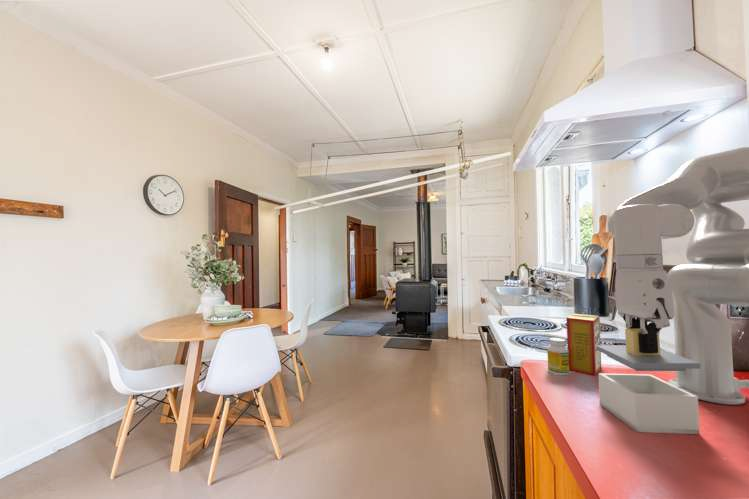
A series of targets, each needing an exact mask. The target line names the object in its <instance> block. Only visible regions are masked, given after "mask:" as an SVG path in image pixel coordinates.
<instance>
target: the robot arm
mask: <svg viewBox="0 0 749 499" xmlns="http://www.w3.org/2000/svg"><path fill="white" fill-rule="evenodd" d="M748 200H749V147H748V146H746V147H745V146H744V147H738V148H734V149H730V150H726V151H720V152H716V153H713V154H707V155H703V156H699V157H695V158H693V159H691V160H690V159H689V161H686V162H685V163H684V164H682V165H681V166H680V167H679V168H678V169H677V170H676V171H675V172H674V173H673V175H671V176H670V177H669V178H668V179H667V180H666V181H665V182H663V183H662V184H659V185H656V186H654V187H652V188H650V189H647V190H646V191H644V192H641V193H639V194H637V195H634V196H633V197H630V198H629V199H626V200H625V201H624V202H623V203H622V204H620V205H619V206H618V207H617V209H615V210H614V211H613V213H612V214H611V216H610V217H609V220H608V231H609V233H610V235H611V236H612V237H613V238H614V250H615V270H616V271H615V272H616V273H615V279H614V280H615V281H614V301H615V308H616V311H617V315H619V316H620V317H621V318H622V319H623V321H624V322H625V329H632V328H641V333H638V334H639V351H640V352H641V353H658V339H657V334H659V335H660V334H661V330H662V329H663V328H667V327H668V328H669V327H671V322H670V320H673V330H674V331H673V332H674V352H675V353H674V354H676V355H679V356H682V357H684V358H687V359H690V360H693V361H695V362H698V363H700V367H701V369H686V371H675V374H676V377H675V378H674V377H673V378H670V379H669V380H668V381H667V382H668V383H670V384H672V385H674V386H676V387H678V388H680V389H683V390H685V391H687V392H689V393H691V394H693V395H695V396H697V397H698V400H701V401H705V402H710V403H714V404H715V403H716V404H719V405H720V404H721V405H731V406H732V405H737V406H738V405H742V404H745V403H746V396H745V395H744V394H743V393H741V392H740V390H743V389H749V379H739V378H737V377H735V376H734V364H733V358H734V357H733V342H732V326H731V322H730V320H729V318H728V317H727V316H726V314H725V313H724V312H723V311H722V310H721V309H720V308H719V307H718V306H717V305H727V306H737V307H747V308H748V307H749V228H745V224H746V223H745V220H744V218H743V217H742V216H741V215H740V214H739V213H738V212H736V211H735V210H733V209H731V208H729V207H727V206H725V205H722V204H725V203H732V202H741V201H748ZM692 230H693V231H692ZM691 231H692V234H691V236H690V239H689V240H688V241H689V242H688V245H687V248H686V253H685V255H686V259H687V261H688V262H689V263H686V264H685V263H684V264H679V265H676V266H673V267H672V268H671V269H670V270H669V271H668V272H667V270H664V261H663V241H662V240H667V239H668V240H669V239H677V238H681V237H684V236H686V235H687V234H689V233H690V232H691Z"/></svg>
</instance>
